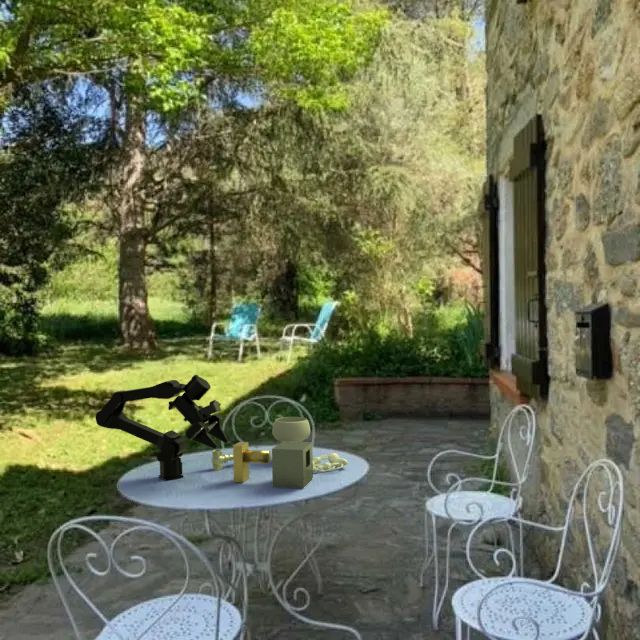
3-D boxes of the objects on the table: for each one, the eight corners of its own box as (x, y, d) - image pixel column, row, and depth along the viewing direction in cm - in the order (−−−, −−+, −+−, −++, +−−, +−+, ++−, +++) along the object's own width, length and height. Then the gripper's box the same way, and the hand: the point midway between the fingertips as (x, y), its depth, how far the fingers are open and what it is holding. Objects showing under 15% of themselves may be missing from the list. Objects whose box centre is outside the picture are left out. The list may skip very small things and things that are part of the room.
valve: (217, 472, 232) (246, 466, 240) (216, 453, 232) (246, 447, 240) (207, 468, 237) (236, 463, 245) (207, 450, 237) (236, 445, 245)
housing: (272, 487, 211) (271, 449, 211) (283, 477, 222) (282, 441, 222) (303, 488, 208) (302, 450, 208) (313, 478, 220) (312, 442, 220)
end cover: (233, 481, 217) (233, 445, 217) (240, 477, 223) (239, 441, 223) (266, 483, 214) (265, 446, 214) (272, 478, 220) (271, 442, 220)
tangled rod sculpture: (300, 481, 223) (300, 469, 222) (284, 468, 236) (284, 457, 235) (352, 473, 230) (352, 461, 230) (335, 461, 243) (335, 450, 243)
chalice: (307, 464, 240) (306, 422, 240) (269, 464, 242) (268, 422, 242) (313, 456, 254) (313, 416, 254) (277, 455, 256) (276, 416, 256)
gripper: (193, 397, 213) (227, 433, 210) (216, 389, 231) (247, 422, 229) (171, 421, 215) (204, 457, 212) (195, 412, 233) (226, 445, 231)
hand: (221, 444), depth 221 cm, fingers open, 9 cm apart
